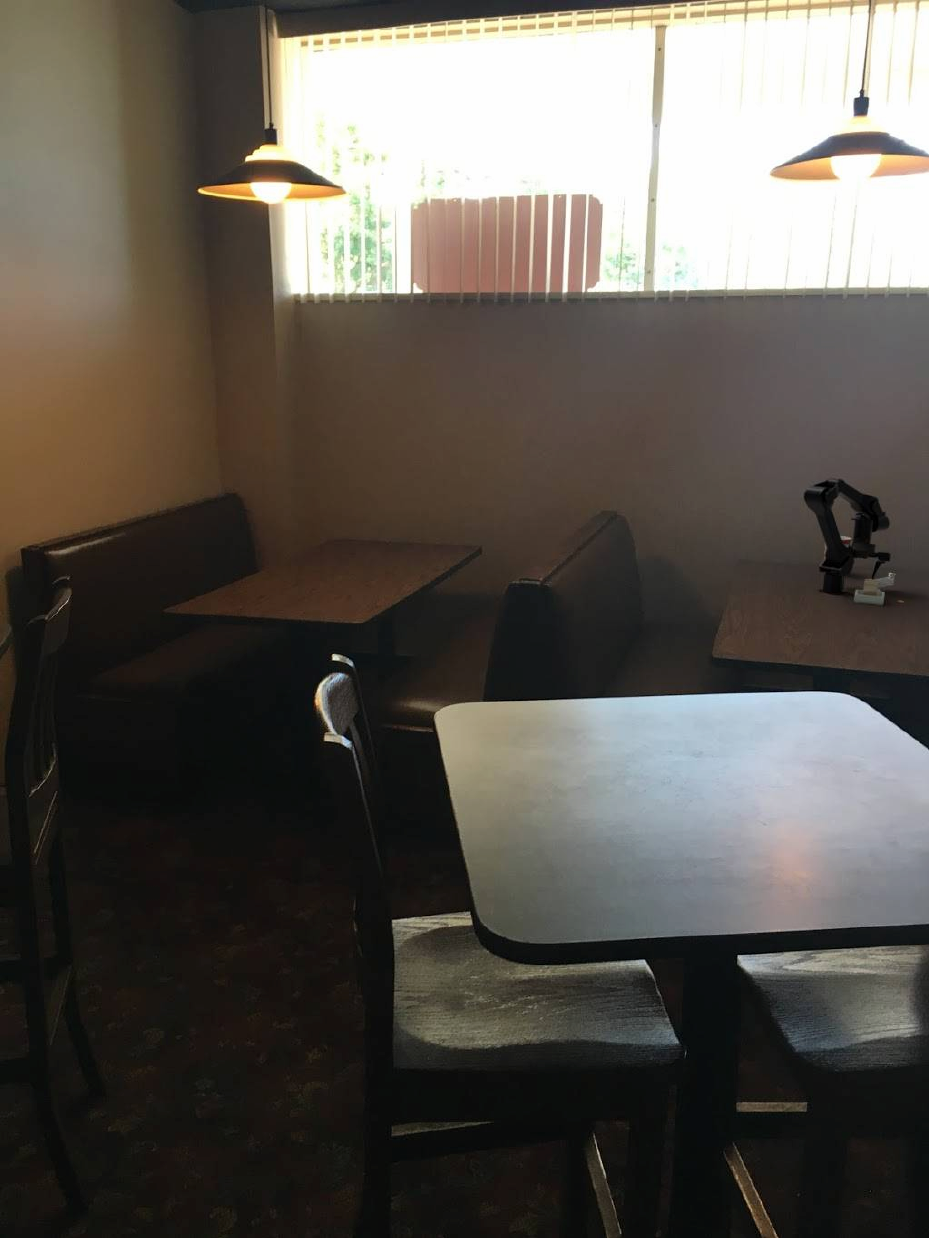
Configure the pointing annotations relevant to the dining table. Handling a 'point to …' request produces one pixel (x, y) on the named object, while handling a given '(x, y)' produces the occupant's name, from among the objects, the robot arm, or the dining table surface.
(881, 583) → the crank
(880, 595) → the stop tray
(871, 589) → the stop block
